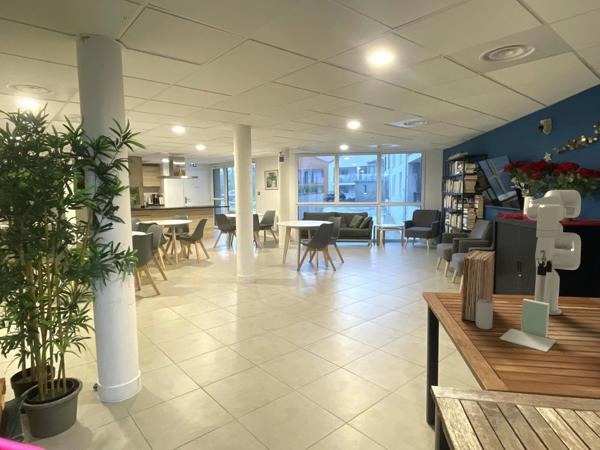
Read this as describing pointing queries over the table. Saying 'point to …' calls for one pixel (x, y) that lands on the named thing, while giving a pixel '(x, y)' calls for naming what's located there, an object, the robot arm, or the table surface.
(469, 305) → the book
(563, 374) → the table surface
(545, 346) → the mat
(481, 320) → the beverage can
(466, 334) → the table surface
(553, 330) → the table surface
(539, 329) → the glazed tile
